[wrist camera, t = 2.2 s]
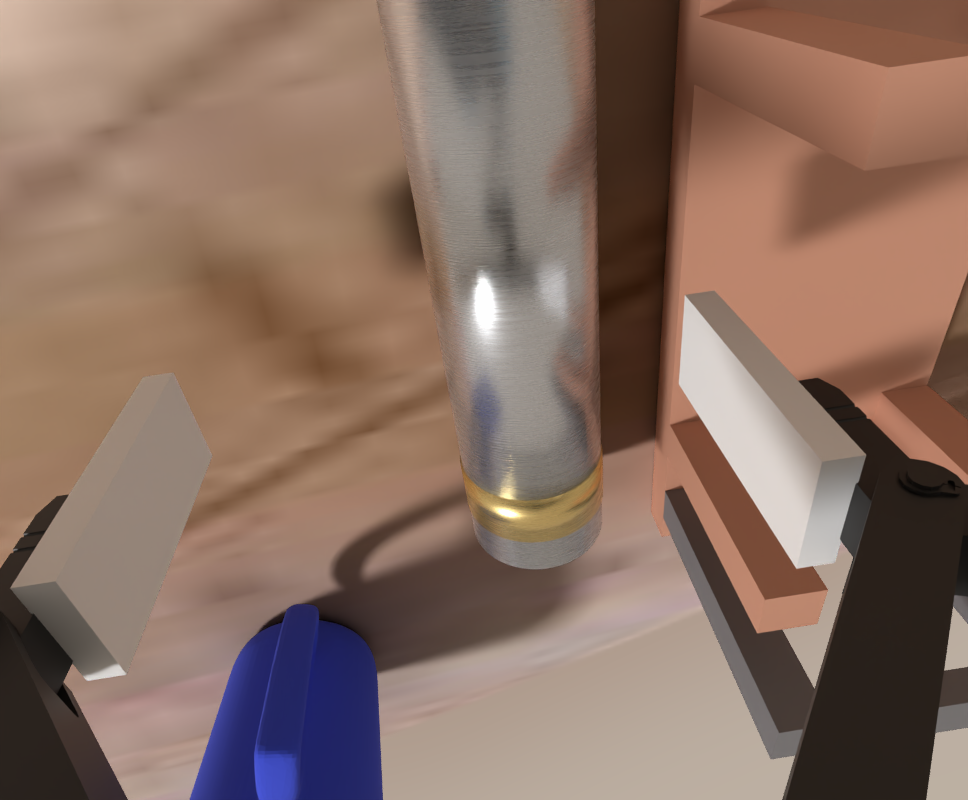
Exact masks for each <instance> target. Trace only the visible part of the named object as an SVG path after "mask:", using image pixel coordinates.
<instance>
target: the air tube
mask: <svg viewBox="0 0 968 800" xmlns="http://www.w3.org/2000/svg"><path fill="white" fill-rule="evenodd" d="M376 1H377V6H378V12H379V17H380V23H381V28H382V33H383V39H384V44H385V50H386V55H387V60H388V66H389V71H390V77H391V82H392V87H393V93H394V98H395V104H396V109H397V115H398V120H399V125H400V131H401V136H402V142H403V147H404V152H405V158H406V163H407V169H408V174H409V179H410V185H411V190H412V196H413V201H414V206H415V212H416V217H417V223H418V228H419V233H420V239H421V244H422V250H423V255H424V261H425V266H426V271H427V277H428V282H429V288H430V293H431V298H432V304H433V309H434V315H435V320H436V325H437V331H438V336H439V342H440V347H441V352H442V358H443V363H444V369H445V374H446V380H447V385H448V390H449V396H450V401H451V407H452V412H453V417H454V423H455V428H456V434H457V439H458V444H459V450H460V462H461V468H462V474H463V479H464V484H465V490H466V495H467V500H468V505H469V508H470V511H471V515H472V520H473V526H474V531H475V534H476V537H477V539H478V541H479V543H480V545H481V546H482V547H483V549H484V550H485V551H486V552H487V553H488V554H490V555H491V556H492V557H494V558H495V559H497V560H499V561H500V562H502V563H505V564H507V565H510V566H514V567H517V568H523V569H547V568H553V567H557V566H561V565H564V564H566V563H569V562H571V561H573V560H575V559H576V558H578V557H580V556H581V555H582V554H584V553H585V552H586V551H587V550H588V549H589V548H590V547H591V546H592V545H593V543H594V542H595V541H596V539H597V537H598V535H599V532H600V530H601V525H602V497H603V460H602V444H601V418H600V347H599V276H598V205H597V134H596V63H595V0H376Z"/></svg>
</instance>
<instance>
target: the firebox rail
mask: <svg viewBox="0 0 968 800" xmlns="http://www.w3.org/2000/svg"><path fill="white" fill-rule="evenodd" d="M967 273H968V0H680V6H679V23H678V41H677V59H676V77H675V95H674V113H673V131H672V149H671V167H670V185H669V203H668V221H667V239H666V257H665V274H664V292H663V310H662V328H661V346H660V364H659V382H658V400H657V418H656V436H655V454H654V472H653V490H652V507H651V512H652V515H653V517H654V519H655V522H656V524H657V526H658V529H659V531H660V533H661V536H662V537H663V536H669V535H671V536H672V539H673V541H674V543H675V545H676V548H677V550H678V552H679V554H680V557H681V559H682V561H683V563H684V566H685V568H686V570H687V572H688V575H689V577H690V579H691V581H692V583H693V586H694V588H695V590H696V592H697V595H698V597H699V599H700V601H701V604H702V606H703V608H704V610H705V613H706V615H707V617H708V619H709V622H710V624H711V626H712V628H713V631H714V633H715V635H716V637H717V640H718V642H719V644H720V646H721V649H722V651H723V653H724V655H725V658H726V660H727V662H728V664H729V666H730V669H731V671H732V673H733V676H734V678H735V680H736V682H737V685H738V687H739V689H740V691H741V694H742V696H743V698H744V700H745V703H746V705H747V707H748V709H749V712H750V714H751V716H752V718H753V721H754V723H755V725H756V727H757V730H758V732H759V734H760V736H761V738H762V741H763V743H764V745H765V748H766V750H767V752H768V754H769V756H770V759H776V758H782V757H788V756H794V755H796V751H797V748H798V745H799V741H800V738H801V734H802V731H803V727H804V724H805V721H806V717H807V714H808V710H809V707H810V704H811V700H812V697H813V693H814V690H815V689H814V687H813V686H812V683H811V682H810V680H809V678H808V677H807V674H806V673H805V671H804V669H803V667H802V665H801V663H800V661H799V660H798V658H797V656H796V654H795V652H794V650H793V649H792V647H791V645H790V643H789V641H788V639H787V638H786V636H785V634H784V632H783V630H782V629H788V628H794V627H800V626H807V625H813V624H817V623H818V619H819V617H820V613H821V610H822V607H823V604H824V601H825V598H826V595H827V592H828V589H827V588H826V586H825V585H824V583H823V581H822V580H821V578H820V577H819V575H818V574H817V572H816V571H815V569H814V567H813V566H810V567H804V568H798V569H796V567H795V566H794V564H793V563H792V561H791V559H790V558H789V556H788V555H787V553H786V552H785V550H784V548H783V547H782V545H781V544H780V542H779V541H778V539H777V537H776V536H775V534H774V533H773V531H772V530H771V528H770V526H769V525H768V523H767V522H766V520H765V519H764V517H763V515H762V514H761V512H760V511H759V509H758V508H757V506H756V504H755V503H754V501H753V500H752V498H751V497H750V495H749V494H748V492H747V490H746V489H745V487H744V486H743V484H742V483H741V481H740V479H739V478H738V476H737V475H736V473H735V472H734V470H733V468H732V467H731V465H730V464H729V462H728V461H727V459H726V457H725V456H724V454H723V453H722V451H721V450H720V448H719V446H718V445H717V443H716V442H715V440H714V439H713V437H712V435H711V434H710V432H709V431H708V429H707V428H706V426H705V424H704V423H703V421H702V420H701V418H700V417H699V415H698V414H697V412H696V410H695V409H694V407H693V406H692V404H691V403H690V401H689V399H688V398H687V396H686V395H685V393H684V392H683V390H682V388H681V387H680V385H679V373H680V358H681V344H682V329H683V315H684V300H685V295H687V294H694V293H700V292H707V291H715V292H716V293H717V294H718V295H719V296H720V297H721V298H722V299H723V300H724V301H725V302H726V304H727V305H728V306H729V307H730V308H731V309H732V310H733V311H734V312H735V313H736V314H737V315H738V317H739V318H740V319H741V320H742V321H743V322H744V323H745V324H746V325H747V326H748V327H749V328H750V330H751V331H752V332H753V333H754V334H755V335H756V336H757V337H758V338H759V339H760V340H761V341H762V343H763V344H764V345H765V346H766V347H767V348H768V349H769V350H770V351H771V352H772V353H773V354H774V355H775V357H776V358H777V359H778V360H779V361H780V362H781V363H782V364H783V365H784V366H785V367H786V368H787V370H788V371H789V372H790V373H791V374H792V375H793V376H794V377H795V378H796V379H797V380H798V381H800V380H806V379H813V378H819V379H821V380H823V381H825V382H827V383H829V384H831V385H833V386H835V387H837V388H839V389H840V390H841V391H842V392H843V393H844V394H845V395H846V396H847V397H848V398H849V399H850V400H851V401H852V402H853V403H854V404H855V407H858V408H860V409H861V410H862V411H863V412H864V413H865V414H866V415H867V419H871V420H872V421H873V422H874V423H875V424H876V425H877V426H878V427H879V428H880V429H881V430H882V431H883V432H884V433H885V434H886V435H887V436H888V437H889V438H890V439H891V440H892V441H893V442H894V443H895V444H896V445H897V446H898V447H899V448H900V449H901V450H902V451H903V452H904V453H905V454H906V455H907V456H908V457H909V458H910V459H917V460H924V461H929V462H932V463H934V464H937V465H940V466H943V467H945V468H946V469H948V470H950V471H951V472H953V473H954V474H956V475H958V477H959V478H960V479H961V480H962V481H963V482H964V484H968V420H967V419H966V418H965V417H964V416H963V415H961V414H960V413H959V412H958V411H957V410H956V409H954V408H953V407H952V406H951V405H950V404H949V403H947V402H946V401H945V400H944V399H943V398H942V397H940V396H939V395H938V394H937V393H936V392H935V391H933V390H932V389H931V388H930V387H929V386H928V382H929V379H930V377H931V374H932V371H933V368H934V365H935V363H936V360H937V357H938V354H939V352H940V349H941V346H942V343H943V340H944V338H945V335H946V332H947V329H948V326H949V324H950V321H951V318H952V315H953V313H954V310H955V307H956V304H957V301H958V299H959V296H960V293H961V290H962V287H963V285H964V282H965V279H966V276H967ZM953 606H954V608H955V609H956V610H957V611H958V612H959V614H960V615H961V616H962V617H963V619H964V620H965V621H966V622H967V623H968V597H967V596H958V595H954V602H953ZM962 728H968V667H965V668H959V669H952V670H946V671H944V674H943V681H942V689H941V696H940V703H939V710H938V717H937V725H936V732H935V733H937V732H943V731H950V730H956V729H962Z"/></svg>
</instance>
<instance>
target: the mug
mask: <svg viewBox="0 0 968 800" xmlns="http://www.w3.org/2000/svg"><path fill="white" fill-rule="evenodd" d="M380 750H381V749H380V725H379V703H378V681H377V670H376V664H375V660H374V657H373V654H372V652H371V650H370V648H369V646H368V645H367V643H366V642H365V641H364V640H363V639H362V638H361V637H360V636H359V635H358V634H356V633H355V632H354V631H352V630H350V629H348V628H346V627H344V626H342V625H339V624H336V623H332V622H327V621H321V620H319V610H318V608H317V607H316V606H314V605H309V604H296V605H293V606H291V607H289V608H288V609H287V611H286V613H285V616H284V619H283V623H279V624H276V625H273V626H271V627H268V628H266V629H265V630H263V631H261V632H259V633H258V634H257V635H255V636H254V637H253V638H252V639H251V640H250V641H249V642H248V643H247V644H246V645H245V646H244V648H243V649H242V651H241V652H240V654H239V656H238V658H237V659H236V661H235V664H234V666H233V669H232V671H231V674H230V677H229V680H228V683H227V686H226V689H225V692H224V696H223V699H222V702H221V705H220V708H219V711H218V714H217V717H216V720H215V723H214V726H213V729H212V732H211V736H210V739H209V742H208V745H207V748H206V751H205V754H204V757H203V760H202V763H201V766H200V769H199V773H198V776H197V779H196V782H195V785H194V788H193V791H192V794H191V797H190V800H383V793H382V771H381V751H380Z"/></svg>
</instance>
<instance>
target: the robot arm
mask: <svg viewBox="0 0 968 800" xmlns="http://www.w3.org/2000/svg"><path fill="white" fill-rule="evenodd" d="M679 385H680V387H681V388H682V390H683V392H684V393H685V395H686V396H687V398H688V399H689V401H690V403H691V404H692V406H693V407H694V409H695V410H696V412H697V414H698V415H699V417H700V418H701V420H702V421H703V423H704V424H705V426H706V428H707V429H708V431H709V432H710V434H711V435H712V437H713V439H714V440H715V442H716V443H717V445H718V446H719V448H720V450H721V451H722V453H723V454H724V456H725V457H726V459H727V461H728V462H729V464H730V465H731V467H732V468H733V470H734V472H735V473H736V475H737V476H738V478H739V479H740V481H741V483H742V484H743V486H744V487H745V489H746V490H747V492H748V494H749V495H750V497H751V498H752V500H753V501H754V503H755V504H756V506H757V508H758V509H759V511H760V512H761V514H762V515H763V517H764V519H765V520H766V522H767V523H768V525H769V526H770V528H771V530H772V531H773V533H774V534H775V536H776V537H777V539H778V541H779V542H780V544H781V545H782V547H783V548H784V550H785V552H786V553H787V555H788V556H789V558H790V559H791V561H792V563H793V564H794V566H795V567H796V569H798V568H804V567H810V566H817V565H823V564H829V563H835V560H836V557H837V554H838V550H839V547H840V544H841V541H842V543H843V544H844V545H845V547H846V548H847V549H848V551H849V552H850V553H851V555H852V556H853V561H852V564H851V567H850V570H849V573H848V577H847V580H846V583H845V586H844V589H843V592H842V598H841V601H840V604H839V608H838V611H837V615H836V618H835V622H834V625H833V629H832V632H831V635H830V639H829V642H828V645H827V649H826V652H825V656H824V659H823V663H822V666H821V669H820V673H819V676H818V680H817V683H816V686H815V690H814V693H813V697H812V700H811V704H810V707H809V710H808V714H807V717H806V721H805V724H804V727H803V731H802V734H801V738H800V741H799V745H798V748H797V751H796V755H795V759H794V762H793V765H792V769H791V772H790V776H789V779H788V782H787V786H786V789H785V792H784V796H783V799H782V800H926V796H927V789H928V782H929V775H930V768H931V761H932V753H933V746H934V739H935V732H936V725H937V717H938V710H939V703H940V696H941V689H942V681H943V674H944V667H945V660H946V653H947V645H948V638H949V630H950V624H951V617H952V609H953V602H954V595H958V596H967V597H968V484H964V482H963V481H962V480H961V479H960V478H959V477H958V475H956V474H954V473H953V472H951V471H950V470H948V469H946V468H945V467H943V466H940V465H937V464H934V463H932V462H929V461H924V460H917V459H910V458H909V457H908V456H907V455H906V454H905V453H904V452H903V451H902V450H901V449H900V448H899V447H898V446H897V445H896V444H895V443H894V442H893V441H892V440H891V439H890V438H889V437H888V436H887V435H886V434H885V433H884V432H883V431H882V430H881V429H880V428H879V427H878V426H877V425H876V424H875V423H874V422H873V421H872V420H871V419H867V415H866V414H865V413H864V412H863V411H862V410H861V409H860V408H858V407H855V404H854V403H853V402H852V401H851V400H850V399H849V398H848V397H847V396H846V395H845V394H844V393H843V392H842V391H841V390H840V389H839V388H837V387H835V386H833V385H831V384H829V383H827V382H825V381H823V380H821V379H819V378H813V379H806V380H800V381H798V380H797V379H796V378H795V377H794V376H793V375H792V374H791V373H790V372H789V371H788V370H787V368H786V367H785V366H784V365H783V364H782V363H781V362H780V361H779V360H778V359H777V358H776V357H775V355H774V354H773V353H772V352H771V351H770V350H769V349H768V348H767V347H766V346H765V345H764V344H763V343H762V341H761V340H760V339H759V338H758V337H757V336H756V335H755V334H754V333H753V332H752V331H751V330H750V328H749V327H748V326H747V325H746V324H745V323H744V322H743V321H742V320H741V319H740V318H739V317H738V315H737V314H736V313H735V312H734V311H733V310H732V309H731V308H730V307H729V306H728V305H727V304H726V302H725V301H724V300H723V299H722V298H721V297H720V296H719V295H718V294H717V293H716V292H715V291H707V292H700V293H694V294H687V295H685V300H684V315H683V329H682V344H681V358H680V373H679ZM211 458H212V454H211V452H210V450H209V448H208V445H207V443H206V441H205V439H204V437H203V435H202V433H201V430H200V428H199V426H198V424H197V422H196V420H195V418H194V416H193V413H192V411H191V409H190V407H189V405H188V403H187V401H186V398H185V396H184V394H183V392H182V390H181V388H180V386H179V384H178V381H177V379H176V377H175V375H174V373H166V374H160V375H153V376H147V377H143V378H142V380H141V381H140V383H139V384H138V386H137V388H136V389H135V391H134V392H133V394H132V395H131V397H130V399H129V400H128V402H127V403H126V405H125V407H124V408H123V410H122V411H121V413H120V415H119V416H118V418H117V419H116V421H115V422H114V424H113V426H112V427H111V429H110V430H109V432H108V434H107V435H106V437H105V438H104V440H103V442H102V443H101V445H100V446H99V448H98V449H97V451H96V453H95V454H94V456H93V457H92V459H91V461H90V462H89V464H88V465H87V467H86V468H85V470H84V472H83V473H82V475H81V476H80V478H79V480H78V481H77V483H76V484H75V486H74V488H73V489H72V491H71V492H70V494H69V495H63V496H57V497H56V498H55V499H53V500H52V501H51V502H50V503H49V504H48V505H47V506H46V507H44V508H43V509H42V510H41V511H40V512H39V513H38V514H36V516H35V517H34V519H33V520H32V522H31V523H30V525H29V526H28V528H27V529H26V531H25V532H24V537H22V538H20V540H19V541H18V543H17V544H16V546H15V547H14V549H13V551H14V552H13V553H10V555H9V556H8V558H7V559H6V561H5V562H4V564H3V565H2V567H1V568H0V800H128V799H127V797H126V795H125V793H124V791H123V790H122V788H121V786H120V784H119V782H118V780H117V778H116V776H115V774H114V772H113V770H112V768H111V766H110V765H109V763H108V761H107V759H106V757H105V755H104V753H103V751H102V749H101V747H100V745H99V743H98V741H97V740H96V738H95V736H94V734H93V732H92V730H91V728H90V726H89V724H88V722H87V720H86V718H85V717H84V715H83V713H82V711H81V709H80V707H79V705H78V703H77V701H76V699H75V697H74V695H73V693H72V692H71V690H70V689H69V688H68V687H67V686H66V685H65V684H64V679H65V677H66V675H67V673H68V671H69V669H70V667H71V665H72V663H73V665H74V666H75V667H76V668H77V669H78V671H79V672H80V673H81V674H82V675H83V677H84V678H85V679H86V680H87V681H90V680H96V679H102V678H108V677H115V676H121V675H127V673H128V670H129V668H130V665H131V662H132V660H133V657H134V655H135V652H136V650H137V647H138V645H139V642H140V639H141V637H142V634H143V632H144V629H145V627H146V624H147V622H148V619H149V616H150V614H151V611H152V609H153V606H154V604H155V601H156V599H157V596H158V593H159V591H160V588H161V586H162V583H163V581H164V578H165V576H166V573H167V570H168V568H169V565H170V563H171V560H172V558H173V555H174V553H175V550H176V547H177V545H178V542H179V540H180V537H181V535H182V532H183V530H184V527H185V524H186V522H187V519H188V517H189V514H190V512H191V509H192V507H193V504H194V501H195V499H196V496H197V494H198V491H199V489H200V486H201V484H202V481H203V478H204V476H205V473H206V471H207V468H208V466H209V463H210V461H211Z"/></svg>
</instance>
